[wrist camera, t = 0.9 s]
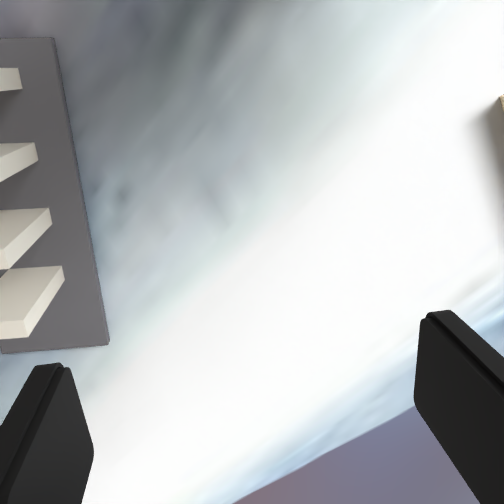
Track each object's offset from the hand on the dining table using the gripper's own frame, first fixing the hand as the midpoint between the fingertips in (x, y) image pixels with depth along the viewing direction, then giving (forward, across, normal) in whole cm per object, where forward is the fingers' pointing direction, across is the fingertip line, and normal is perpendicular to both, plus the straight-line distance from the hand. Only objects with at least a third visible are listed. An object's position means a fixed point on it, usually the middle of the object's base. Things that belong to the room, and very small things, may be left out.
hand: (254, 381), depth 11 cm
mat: (+32, +18, +3) cm, 37 cm away
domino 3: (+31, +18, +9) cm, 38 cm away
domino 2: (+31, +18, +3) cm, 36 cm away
